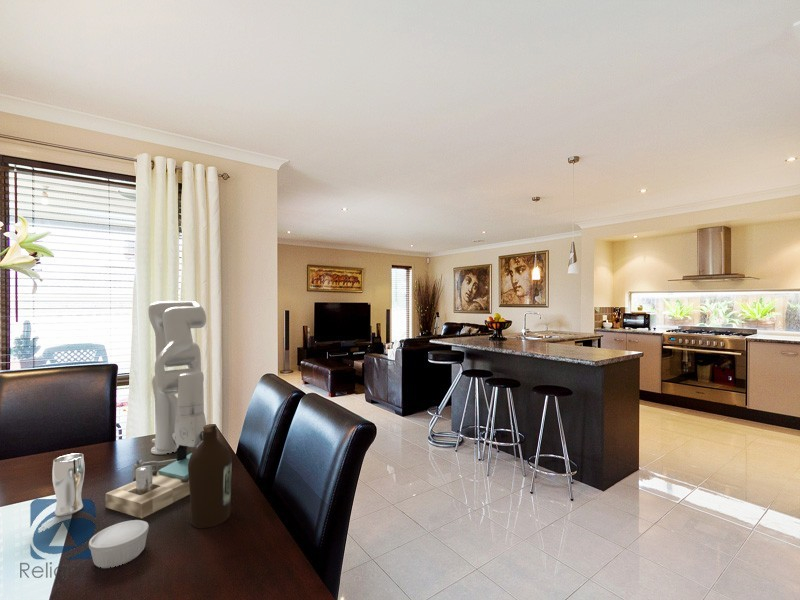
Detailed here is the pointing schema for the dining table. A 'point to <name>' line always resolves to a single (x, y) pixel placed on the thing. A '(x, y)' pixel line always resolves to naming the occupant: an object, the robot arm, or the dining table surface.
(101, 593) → the dining table surface
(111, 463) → the dining table surface
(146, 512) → the wooden block
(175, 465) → the latch flap
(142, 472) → the steel peg
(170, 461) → the caliper
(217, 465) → the olive oil
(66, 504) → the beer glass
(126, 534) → the ramekin
